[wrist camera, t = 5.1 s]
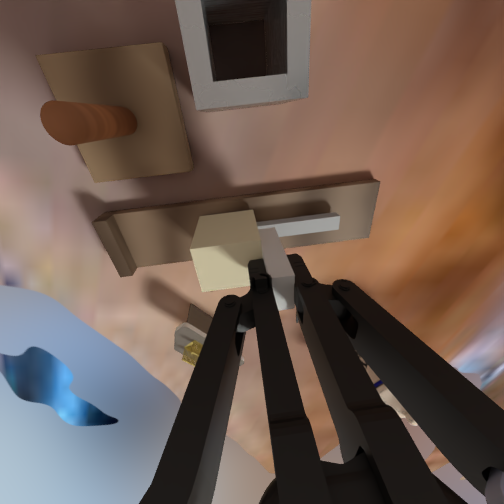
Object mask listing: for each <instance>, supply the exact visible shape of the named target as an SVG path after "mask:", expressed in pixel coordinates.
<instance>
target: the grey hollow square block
mask: <svg viewBox="0 0 504 504" xmlns="http://www.w3.org/2000/svg"><path fill="white" fill-rule="evenodd" d="M175 3H176V9H177V14H178V19H179V24H180V29H181V34H182V39H183V45H184V50H185V55H186V60H187V65H188V70H189V75H190V81H191V86H192V91H193V96H194V101H195V106H196V110H198V111H203V112H214V111H223V110H232V109H240V108H249V107H258V106H267V105H276V104H283V103H287V102H291V101H295V100H300V99H304V98H308V87H309V54H310V22H311V0H175ZM259 20H264V28H265V49H266V69H267V76H261V77H252V78H243V79H234V80H225V81H217V79H216V72H215V65H214V58H213V51H212V44H211V37H210V30H209V26H212V25H221V24H231V23H240V22H250V21H259Z"/></svg>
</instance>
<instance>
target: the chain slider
mask: <svg viewBox="0 0 504 504" xmlns="http://www.w3.org/2000/svg"><path fill="white" fill-rule="evenodd" d="M339 222H340V215H339V214H337V213H336V212H333V213H325V214H317V215H309V216H301V217H293V218H285V219H277V220H269V221H261V222H256V219H255V215H254V211H253V210H246V211H238V212H230V213H222V214H214V215H206V216H200V217H199V220H198V223H197V227H196V230H195V233H194V237H193V240H192V243H191V247H190V252H191V255H192V259H193V262H194V266H195V269H196V273H197V276H198V280H199V283H200V286H201V290H202V292H207V291H215V290H222V289H230V288H238V287H245V286H250V280H249V272H248V263H249V261H250V260H256V259H262V248H261V239H260V235H259V231H258V229H265V228H273V227H275V229H276V232H277V234H278V236H279V237H284V236H292V235H299V234H307V233H315V232H323V231H331V230H338V229H339Z"/></svg>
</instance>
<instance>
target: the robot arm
mask: <svg viewBox="0 0 504 504" xmlns="http://www.w3.org/2000/svg"><path fill="white" fill-rule="evenodd" d="M258 231H259V235H260V239H261V248H262V259H256V260H250V261H249V263H248V272H249V280H250V291H249V292H248V293H247V294H246V295H244V296H242V297H240V298H239V297H238V296H236V295H227V296H224V297H223V298H222V299H221V300H220V301H219V303H218V306H217V308H216V311H215V314H214V317H213V319H212V322H211V325H210V327H209V330H208V333H207V335H206V338H205V341H204V344H203V346H202V349H201V352H200V354H199V357H198V360H197V362H196V365H195V368H194V370H193V373H192V376H191V379H190V381H189V384H188V387H187V389H186V392H185V395H184V397H183V400H182V403H181V406H180V408H179V411H178V414H177V417H176V419H175V422H174V425H173V427H172V430H171V433H170V435H169V438H168V441H167V444H166V446H165V449H164V451H163V454H162V457H161V460H160V462H159V465H158V468H157V470H156V473H155V476H154V479H153V481H152V484H151V485H150V487H149V488H148V490H147V492H146V493H145V495H144V496H143V498H142V500H141V501H140V503H139V504H211V503H212V499H213V494H214V490H215V486H216V481H217V476H218V471H219V465H220V460H221V455H222V450H223V445H224V440H225V435H226V430H227V425H228V420H229V415H230V410H231V405H232V400H233V395H234V390H235V385H236V380H237V375H238V370H239V365H240V360H241V355H242V350H243V345H244V340H245V335H246V331H247V330H249V329H251V328H254V327H256V333H257V341H258V348H259V356H260V363H261V371H262V378H263V386H264V393H265V400H266V408H267V415H268V423H269V430H270V438H271V445H272V453H273V460H274V468H275V475H276V478H275V479H274V480H273V481H272V482H271V483H270V485H269V486H268V487H267V489H266V490H265V492H264V494H263V496H262V498H261V500H260V502H259V504H468V503H467V502H465V501H464V500H463V499H462V498H461V497H460V496H458V495H457V494H456V493H455V492H454V491H453V490H451V489H450V488H449V487H448V486H446V485H445V484H444V483H443V482H442V481H441V480H439V479H438V478H437V477H436V476H435V475H434V474H432V473H431V471H430V469H429V468H428V466H427V464H426V462H425V461H424V459H423V457H422V455H421V453H420V452H419V450H418V448H417V447H416V445H415V443H414V441H413V440H412V438H411V436H410V434H409V432H408V431H407V429H406V427H405V426H404V424H403V422H402V420H401V418H400V417H399V415H398V414H397V412H396V411H395V410H394V409H393V408H392V407H391V406H389V405H387V404H385V403H384V402H383V400H382V399H381V397H380V395H379V393H378V391H377V389H376V388H375V386H374V384H373V382H372V380H371V378H370V376H369V375H368V373H367V371H366V369H365V367H364V365H363V364H362V362H361V360H360V358H359V356H358V354H359V355H360V356H361V357H362V359H363V360H364V361H365V362H366V363H367V365H368V366H369V367H370V368H371V369H372V370H373V372H374V373H375V374H376V375H377V376H378V378H379V379H380V380H381V381H382V382H383V384H384V385H385V386H386V387H387V388H388V390H389V391H390V392H391V393H392V394H393V395H394V397H395V398H396V399H397V400H398V401H399V403H400V404H401V405H402V406H403V407H404V409H405V410H406V411H407V412H408V413H409V415H410V416H411V417H412V418H413V419H414V420H415V422H416V423H417V424H418V425H419V426H420V427H421V429H422V430H423V431H424V432H425V434H426V435H427V436H428V437H429V438H430V440H431V441H432V442H433V443H434V444H435V445H436V447H437V448H438V449H439V450H440V451H441V453H442V454H443V455H444V456H445V457H446V458H447V459H448V460H449V462H450V463H451V464H452V465H453V466H454V467H455V468H456V469H457V470H458V471H459V472H460V473H461V474H462V475H463V476H464V477H465V478H466V479H467V480H468V481H469V482H470V483H471V484H472V485H473V486H474V487H475V488H476V489H477V490H478V491H479V492H481V493H482V494H483V495H484V496H485V497H486V501H487V504H504V410H503V409H502V408H501V407H499V406H498V405H497V404H496V403H495V402H493V401H492V400H491V399H490V398H489V397H488V396H486V395H485V394H484V393H483V392H482V391H480V390H479V389H478V388H477V387H475V386H474V385H473V384H472V383H471V382H470V381H469V380H467V379H466V378H465V377H464V376H463V375H461V374H460V373H459V372H458V371H457V370H456V369H454V368H453V367H452V366H451V365H450V364H449V363H447V362H446V361H445V360H444V359H443V358H442V357H440V356H439V355H438V354H437V353H436V352H434V351H433V350H432V349H431V348H430V347H429V346H427V345H426V344H425V343H424V342H423V341H421V340H420V339H419V338H418V337H417V336H416V335H414V334H413V333H412V332H411V331H410V330H408V329H407V328H406V327H405V326H404V325H403V324H401V323H400V322H399V321H398V320H397V319H395V318H394V317H393V316H392V315H391V314H390V313H388V312H387V311H386V310H385V309H384V308H382V307H381V306H380V305H379V304H378V303H377V302H375V301H374V300H373V299H372V298H371V297H369V296H368V295H367V294H366V293H365V292H364V291H362V290H361V289H360V288H359V287H358V286H356V285H355V284H354V283H353V282H351V281H349V280H344V279H340V280H336V281H334V283H333V285H325V284H320V283H319V282H318V281H317V280H316V279H314V278H312V276H311V274H310V273H309V271H308V269H307V267H306V265H305V263H304V261H303V259H302V257H301V256H299V255H298V254H290V255H286V253H285V251H284V248H283V246H282V243H281V241H280V239H279V236H278V234H277V232H276V229H275V227H273V228H265V229H258ZM295 305H296V323H298V320H299V323H300V326H301V329H302V332H303V335H304V338H305V341H306V344H307V347H308V349H309V352H310V355H311V358H312V361H313V364H314V367H315V370H316V373H317V376H318V379H319V382H320V385H321V387H322V390H323V393H324V396H325V399H326V402H327V405H328V408H329V411H330V414H331V417H332V420H333V423H334V426H335V428H336V431H337V434H338V438H339V443H340V450H341V454H342V458H343V461H344V464H337V463H331V462H326V461H321V460H320V457H319V453H318V449H317V446H316V442H315V438H314V435H313V431H312V428H311V424H310V422H309V419H308V418H307V416H306V414H305V410H304V407H303V403H302V399H301V395H300V391H299V388H298V384H297V380H296V376H295V372H294V369H293V365H292V361H291V357H290V353H289V349H288V346H287V342H286V338H285V334H284V330H283V327H282V323H281V319H280V315H279V311H278V310H285V309H293V308H294V306H295ZM355 350H356V351H357V352H356V351H355ZM357 353H358V354H357Z"/></svg>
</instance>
